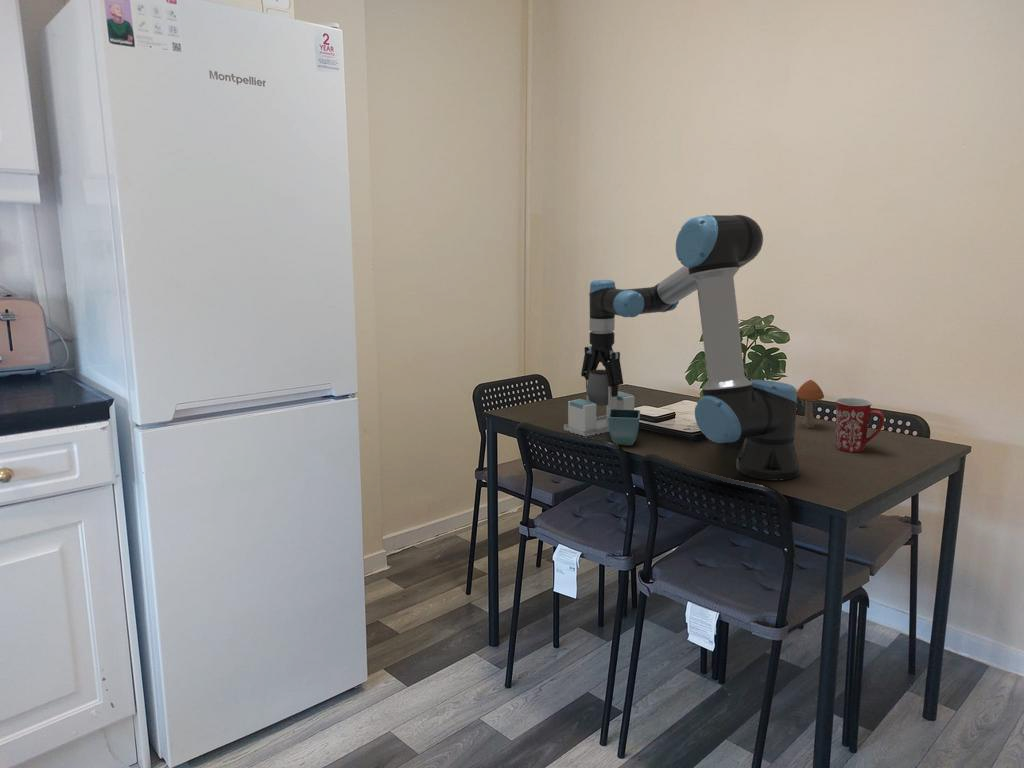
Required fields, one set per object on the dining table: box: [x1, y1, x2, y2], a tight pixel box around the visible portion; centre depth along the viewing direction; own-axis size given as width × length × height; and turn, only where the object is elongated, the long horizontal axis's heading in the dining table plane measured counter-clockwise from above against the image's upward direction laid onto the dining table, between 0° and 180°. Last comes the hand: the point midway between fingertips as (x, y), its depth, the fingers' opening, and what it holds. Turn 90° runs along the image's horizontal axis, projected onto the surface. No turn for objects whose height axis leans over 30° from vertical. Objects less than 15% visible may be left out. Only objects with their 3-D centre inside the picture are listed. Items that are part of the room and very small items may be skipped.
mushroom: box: [797, 379, 825, 429], centre depth 214 cm, size 8×8×15 cm
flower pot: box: [608, 409, 641, 446], centre depth 204 cm, size 9×9×9 cm
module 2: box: [605, 390, 635, 418], centre depth 224 cm, size 8×5×8 cm, turn 34°
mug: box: [835, 397, 885, 453], centre depth 193 cm, size 13×9×14 cm
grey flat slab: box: [563, 415, 610, 437], centre depth 221 cm, size 10×22×2 cm, turn 124°
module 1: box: [567, 398, 597, 432], centre depth 216 cm, size 8×5×8 cm, turn 34°
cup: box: [585, 369, 614, 407], centre depth 218 cm, size 10×9×10 cm
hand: (601, 403), depth 220 cm, fingers closed on cup, 9 cm apart
